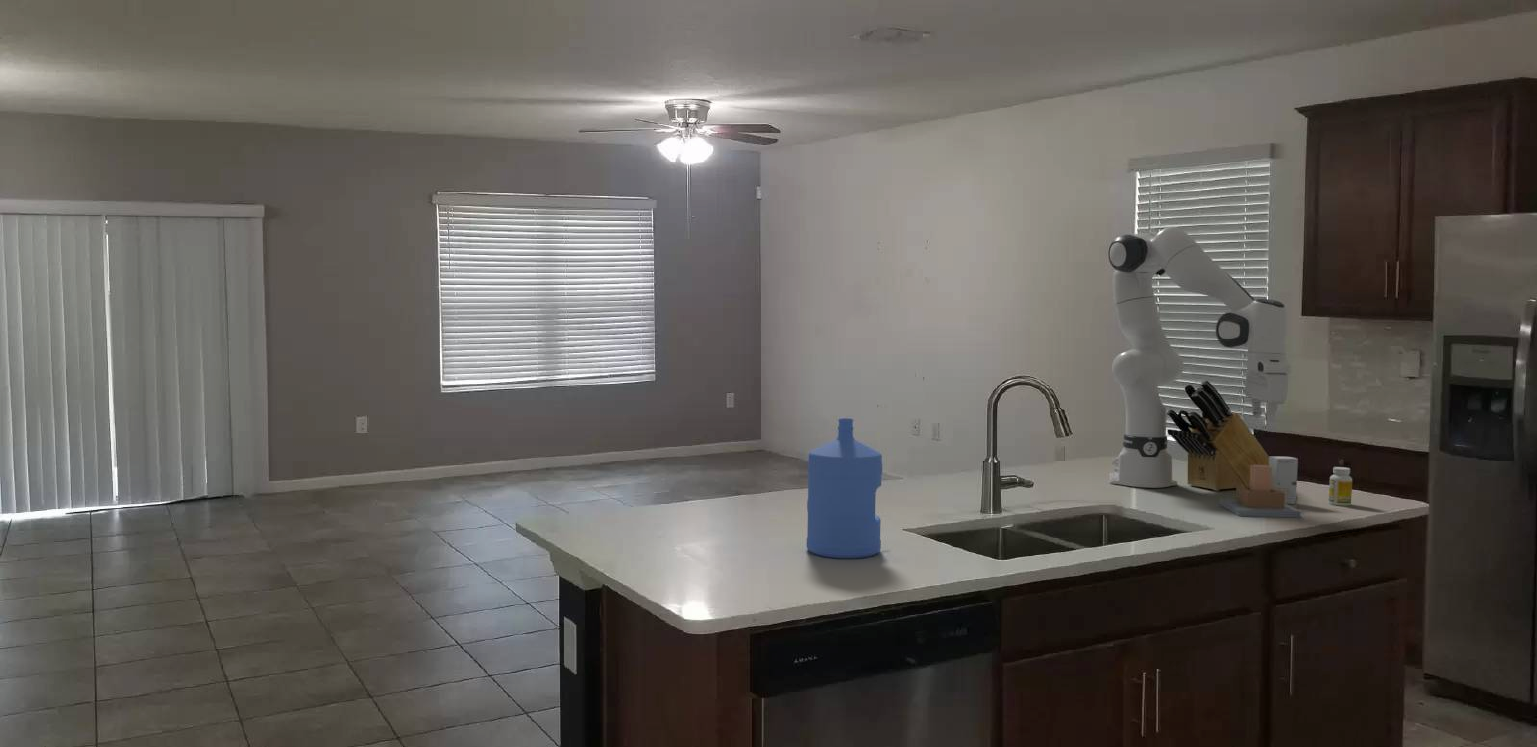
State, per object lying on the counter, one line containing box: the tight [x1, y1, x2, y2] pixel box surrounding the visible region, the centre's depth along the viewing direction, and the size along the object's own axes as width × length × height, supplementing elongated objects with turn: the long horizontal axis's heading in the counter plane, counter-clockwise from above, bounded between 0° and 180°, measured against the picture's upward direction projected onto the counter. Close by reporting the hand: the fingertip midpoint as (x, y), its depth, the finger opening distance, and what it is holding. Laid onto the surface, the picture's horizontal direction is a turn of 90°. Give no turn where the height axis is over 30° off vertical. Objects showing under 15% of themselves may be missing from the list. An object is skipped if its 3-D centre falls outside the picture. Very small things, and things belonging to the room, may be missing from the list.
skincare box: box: [1269, 455, 1299, 505], centre depth 312 cm, size 6×4×12 cm
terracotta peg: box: [1249, 465, 1272, 492], centre depth 300 cm, size 4×4×10 cm
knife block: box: [1166, 380, 1270, 492], centre depth 335 cm, size 11×35×31 cm, turn 116°
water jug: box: [806, 417, 883, 560], centre depth 248 cm, size 16×16×28 cm
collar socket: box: [1219, 486, 1302, 519], centre depth 301 cm, size 15×15×6 cm
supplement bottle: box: [1328, 466, 1353, 507], centre depth 312 cm, size 5×5×10 cm
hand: (1263, 418), depth 299 cm, fingers open, 8 cm apart
